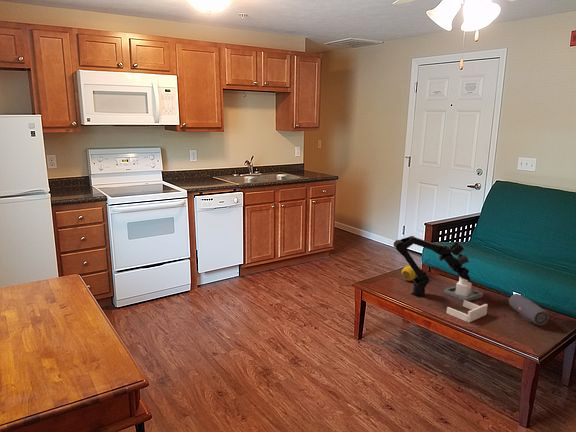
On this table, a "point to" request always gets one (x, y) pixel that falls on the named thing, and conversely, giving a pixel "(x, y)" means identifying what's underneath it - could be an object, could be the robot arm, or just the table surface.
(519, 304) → the bluetooth speaker
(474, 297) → the tray
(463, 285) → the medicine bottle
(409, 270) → the lantern
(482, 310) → the bay
